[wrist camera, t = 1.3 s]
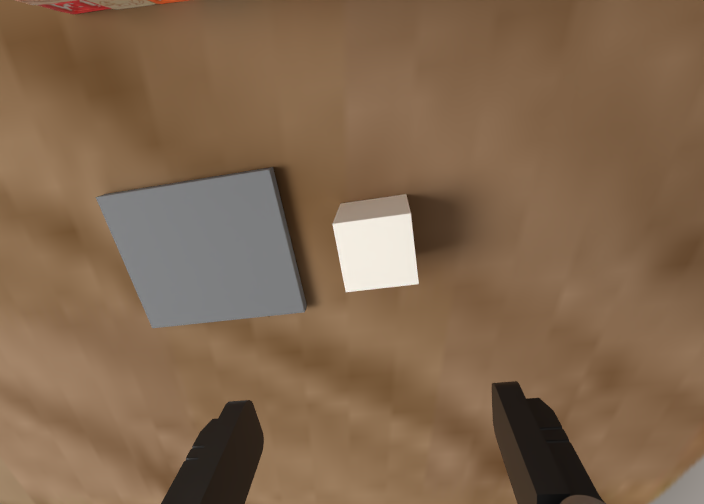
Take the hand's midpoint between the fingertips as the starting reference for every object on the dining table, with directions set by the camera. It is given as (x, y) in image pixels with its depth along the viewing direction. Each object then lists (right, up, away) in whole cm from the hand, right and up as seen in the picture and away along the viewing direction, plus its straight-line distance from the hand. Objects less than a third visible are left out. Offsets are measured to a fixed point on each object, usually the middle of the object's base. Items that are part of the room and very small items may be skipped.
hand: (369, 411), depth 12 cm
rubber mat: (-12, +5, +19) cm, 23 cm away
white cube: (+1, +7, +17) cm, 18 cm away
